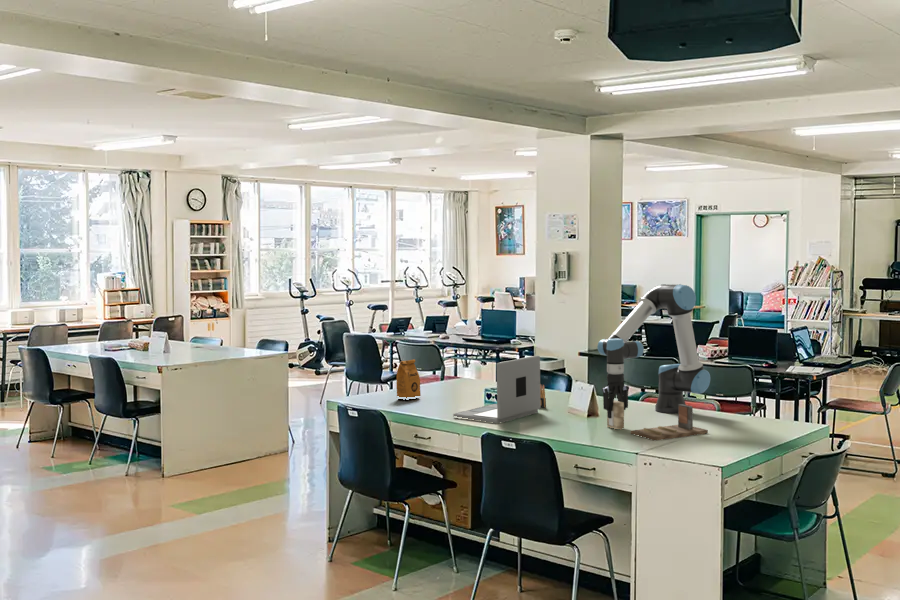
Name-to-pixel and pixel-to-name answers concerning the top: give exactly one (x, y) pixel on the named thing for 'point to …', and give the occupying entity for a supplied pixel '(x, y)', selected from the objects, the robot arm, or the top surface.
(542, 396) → the ammunition clip
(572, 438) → the top surface
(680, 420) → the rail
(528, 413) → the laptop
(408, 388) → the coffee package
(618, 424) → the maple finger
